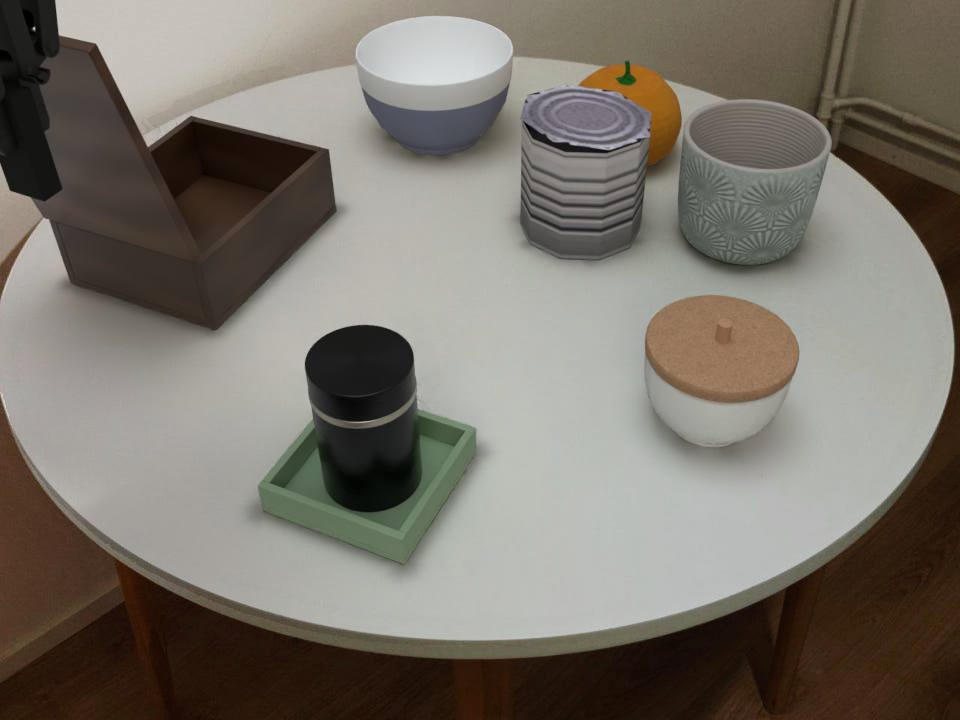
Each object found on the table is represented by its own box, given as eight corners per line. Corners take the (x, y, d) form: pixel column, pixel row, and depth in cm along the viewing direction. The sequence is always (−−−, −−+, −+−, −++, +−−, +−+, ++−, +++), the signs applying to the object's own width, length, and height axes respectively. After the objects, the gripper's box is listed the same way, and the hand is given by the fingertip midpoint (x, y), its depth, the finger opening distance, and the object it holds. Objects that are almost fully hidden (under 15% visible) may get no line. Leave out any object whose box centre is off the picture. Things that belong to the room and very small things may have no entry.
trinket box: (807, 453, 77) (834, 356, 70) (671, 485, 75) (686, 388, 68) (740, 359, 84) (759, 265, 78) (615, 386, 82) (624, 291, 76)
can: (522, 190, 103) (524, 77, 96) (639, 194, 103) (650, 81, 95) (516, 259, 95) (517, 141, 87) (643, 264, 94) (656, 145, 86)
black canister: (392, 526, 71) (380, 410, 64) (303, 493, 74) (282, 377, 66) (440, 456, 76) (433, 341, 69) (354, 427, 78) (340, 312, 71)
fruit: (542, 139, 111) (545, 50, 104) (638, 115, 114) (647, 27, 108) (598, 194, 103) (605, 101, 96) (699, 166, 106) (713, 75, 100)
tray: (404, 564, 70) (402, 539, 68) (262, 510, 73) (256, 485, 72) (476, 452, 77) (476, 427, 75) (344, 408, 81) (341, 383, 79)
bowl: (332, 145, 110) (322, 59, 104) (421, 85, 120) (417, 3, 114) (457, 189, 104) (454, 100, 97) (540, 122, 114) (543, 37, 107)
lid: (-84, 2, 72) (-93, 10, 71) (96, 43, 67) (88, 51, 66) (50, 210, 88) (43, 218, 88) (202, 255, 83) (196, 264, 83)
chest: (203, 176, 106) (190, 115, 102) (336, 211, 101) (329, 148, 97) (70, 284, 93) (48, 219, 89) (215, 330, 88) (200, 265, 83)
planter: (786, 294, 91) (812, 185, 83) (650, 256, 95) (663, 150, 88) (821, 221, 99) (847, 116, 92) (694, 189, 103) (709, 87, 96)
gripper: (-193, -228, 41) (0, 266, 56) (50, -291, 49) (158, 152, 65) (-317, -246, 43) (-99, 231, 59) (-65, -303, 52) (66, 126, 67)
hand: (36, 189), depth 62 cm, fingers closed
